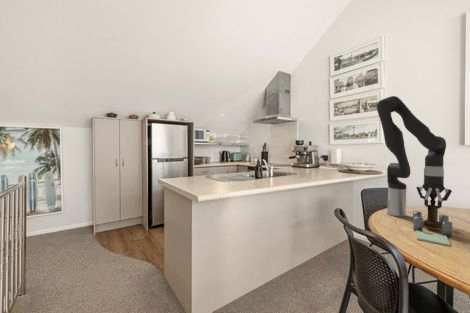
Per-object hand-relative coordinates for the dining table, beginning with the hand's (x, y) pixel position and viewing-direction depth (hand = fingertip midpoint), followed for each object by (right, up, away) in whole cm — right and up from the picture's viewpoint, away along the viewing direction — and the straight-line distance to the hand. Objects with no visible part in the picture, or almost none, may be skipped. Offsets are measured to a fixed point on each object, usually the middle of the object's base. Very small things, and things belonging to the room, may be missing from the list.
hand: (432, 207), depth 110 cm
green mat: (-10, -13, -10) cm, 19 cm away
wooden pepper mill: (0, -10, 0) cm, 10 cm away
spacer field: (-1, -12, 0) cm, 12 cm away
